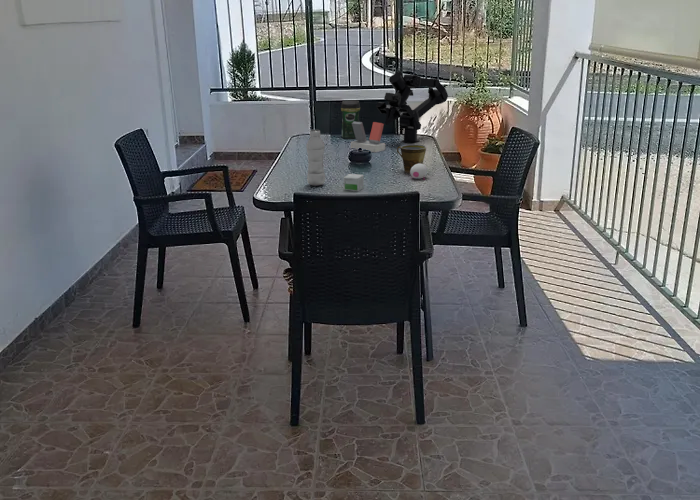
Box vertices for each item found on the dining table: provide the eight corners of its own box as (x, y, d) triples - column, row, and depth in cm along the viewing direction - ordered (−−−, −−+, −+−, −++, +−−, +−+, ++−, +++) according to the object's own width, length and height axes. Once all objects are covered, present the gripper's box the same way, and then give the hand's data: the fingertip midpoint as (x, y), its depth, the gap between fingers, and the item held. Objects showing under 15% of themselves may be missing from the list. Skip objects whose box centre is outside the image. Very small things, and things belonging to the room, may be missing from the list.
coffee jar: (361, 136, 330) (360, 99, 323) (360, 139, 322) (359, 101, 316) (342, 136, 331) (341, 99, 324) (340, 139, 323) (340, 101, 317)
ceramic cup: (430, 171, 255) (431, 146, 251) (415, 176, 248) (415, 150, 245) (404, 166, 263) (405, 142, 260) (389, 171, 256) (389, 146, 253)
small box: (343, 190, 230) (343, 176, 228) (349, 186, 235) (349, 173, 233) (358, 191, 228) (358, 178, 226) (364, 187, 233) (364, 174, 231)
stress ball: (419, 184, 249) (412, 169, 250) (434, 175, 244) (427, 159, 244) (408, 187, 244) (400, 171, 245) (423, 178, 238) (415, 162, 239)
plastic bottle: (307, 183, 240) (305, 129, 233) (325, 182, 240) (323, 128, 233) (307, 187, 234) (305, 132, 227) (326, 187, 234) (324, 131, 227)
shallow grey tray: (360, 146, 305) (360, 139, 304) (385, 150, 296) (385, 143, 295) (350, 148, 301) (350, 141, 300) (375, 152, 291) (375, 145, 290)
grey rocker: (358, 139, 302) (354, 121, 297) (366, 140, 299) (362, 122, 294) (356, 141, 301) (351, 123, 296) (364, 142, 298) (359, 124, 293)
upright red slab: (371, 142, 297) (375, 122, 296) (379, 144, 293) (383, 123, 293) (368, 142, 295) (373, 122, 294) (376, 143, 292) (381, 123, 291)
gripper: (378, 84, 302) (362, 111, 298) (410, 87, 290) (394, 114, 286) (388, 100, 310) (373, 126, 306) (420, 103, 298) (405, 130, 294)
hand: (386, 124), depth 298 cm, fingers closed
